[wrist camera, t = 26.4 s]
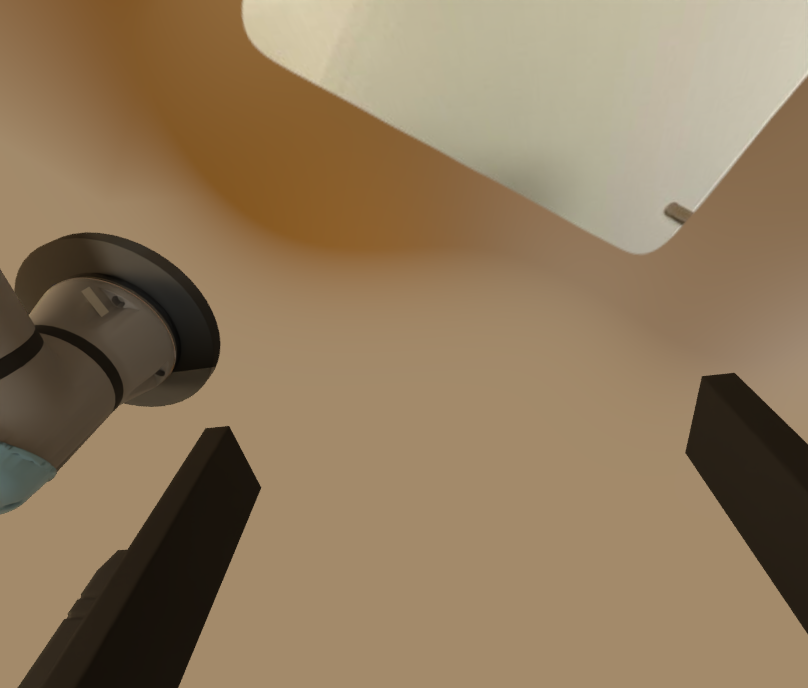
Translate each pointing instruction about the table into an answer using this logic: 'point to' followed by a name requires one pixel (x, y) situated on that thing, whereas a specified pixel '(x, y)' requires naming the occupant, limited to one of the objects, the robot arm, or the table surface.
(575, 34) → the table surface
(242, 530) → the robot arm
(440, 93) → the table surface
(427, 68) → the table surface
